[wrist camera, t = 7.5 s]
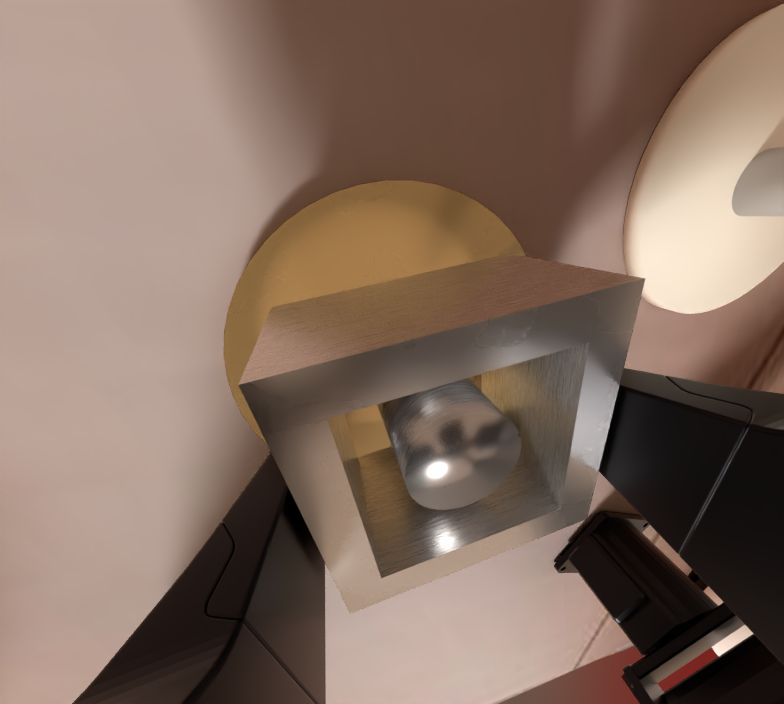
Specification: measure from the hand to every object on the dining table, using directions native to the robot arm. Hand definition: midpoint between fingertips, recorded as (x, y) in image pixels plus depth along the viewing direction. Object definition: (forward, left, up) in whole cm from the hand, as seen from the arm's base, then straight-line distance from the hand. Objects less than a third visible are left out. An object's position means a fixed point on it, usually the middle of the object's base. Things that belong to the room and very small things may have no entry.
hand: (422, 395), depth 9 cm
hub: (0, 0, -3) cm, 3 cm away
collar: (0, 0, -1) cm, 1 cm away
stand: (-11, -12, -3) cm, 17 cm away
